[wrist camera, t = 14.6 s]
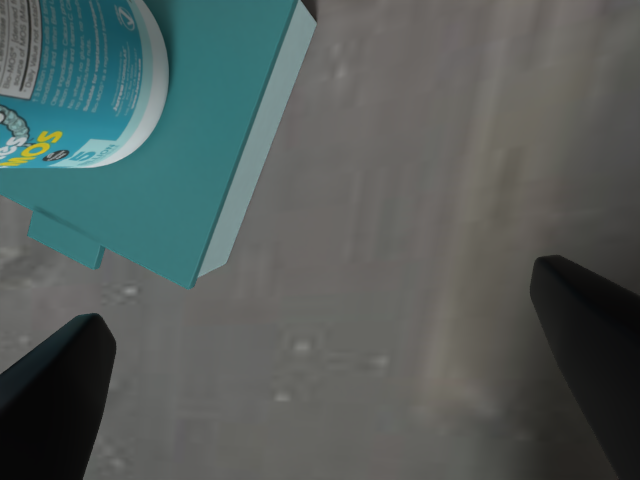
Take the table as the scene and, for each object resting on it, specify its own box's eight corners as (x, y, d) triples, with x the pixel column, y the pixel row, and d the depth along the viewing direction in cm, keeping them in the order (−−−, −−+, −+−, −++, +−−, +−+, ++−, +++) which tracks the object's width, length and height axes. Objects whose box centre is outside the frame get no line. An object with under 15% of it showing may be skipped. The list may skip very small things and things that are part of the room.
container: (220, 289, 22) (179, 315, 19) (24, 191, 24) (-52, 195, 20) (323, 20, 19) (299, -17, 15) (88, -72, 21) (14, -126, 17)
